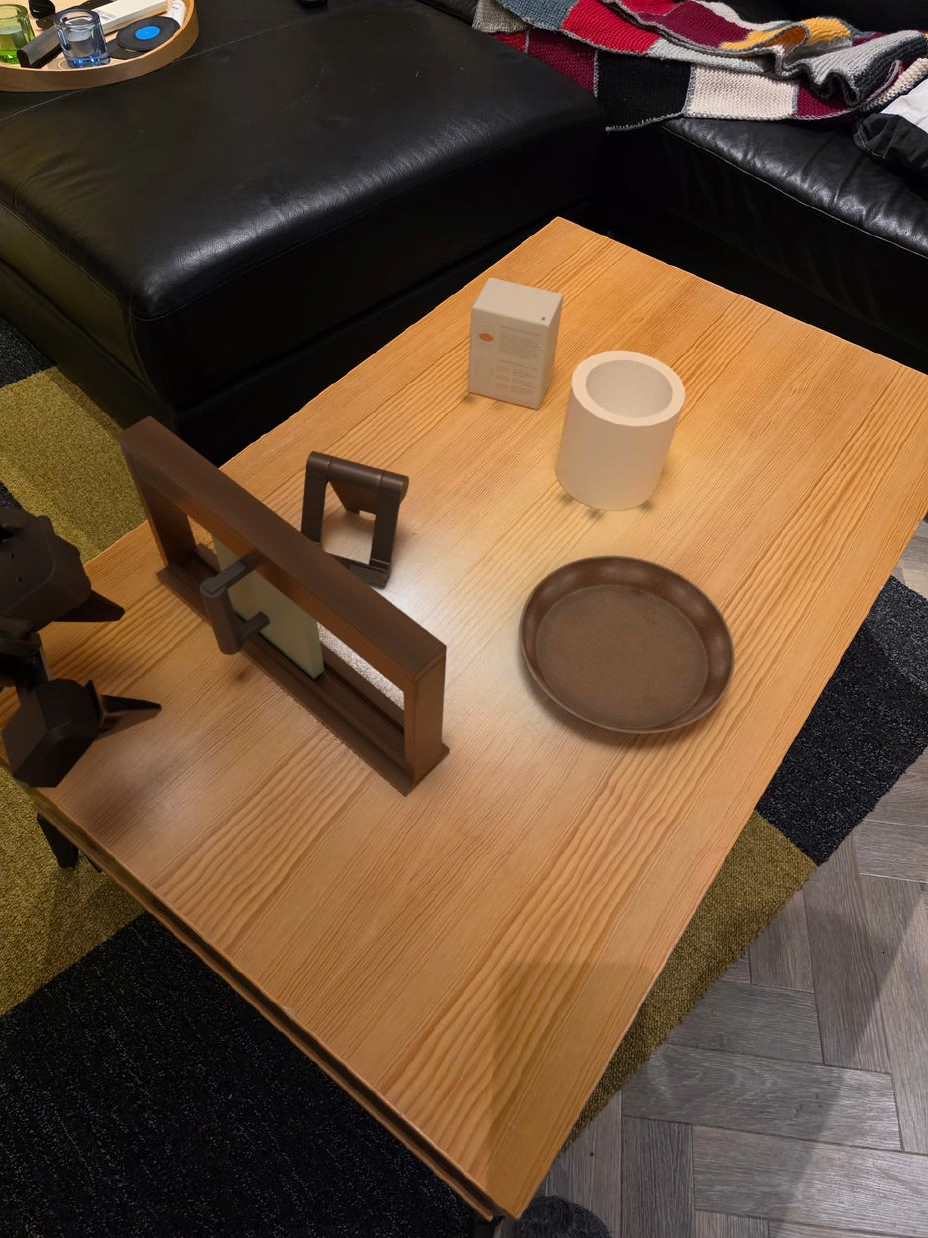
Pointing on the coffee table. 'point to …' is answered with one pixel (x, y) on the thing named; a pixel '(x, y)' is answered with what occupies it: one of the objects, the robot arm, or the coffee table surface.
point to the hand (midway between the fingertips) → (139, 661)
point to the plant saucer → (626, 644)
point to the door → (258, 613)
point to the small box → (513, 342)
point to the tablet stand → (355, 507)
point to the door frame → (314, 583)
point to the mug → (618, 429)
